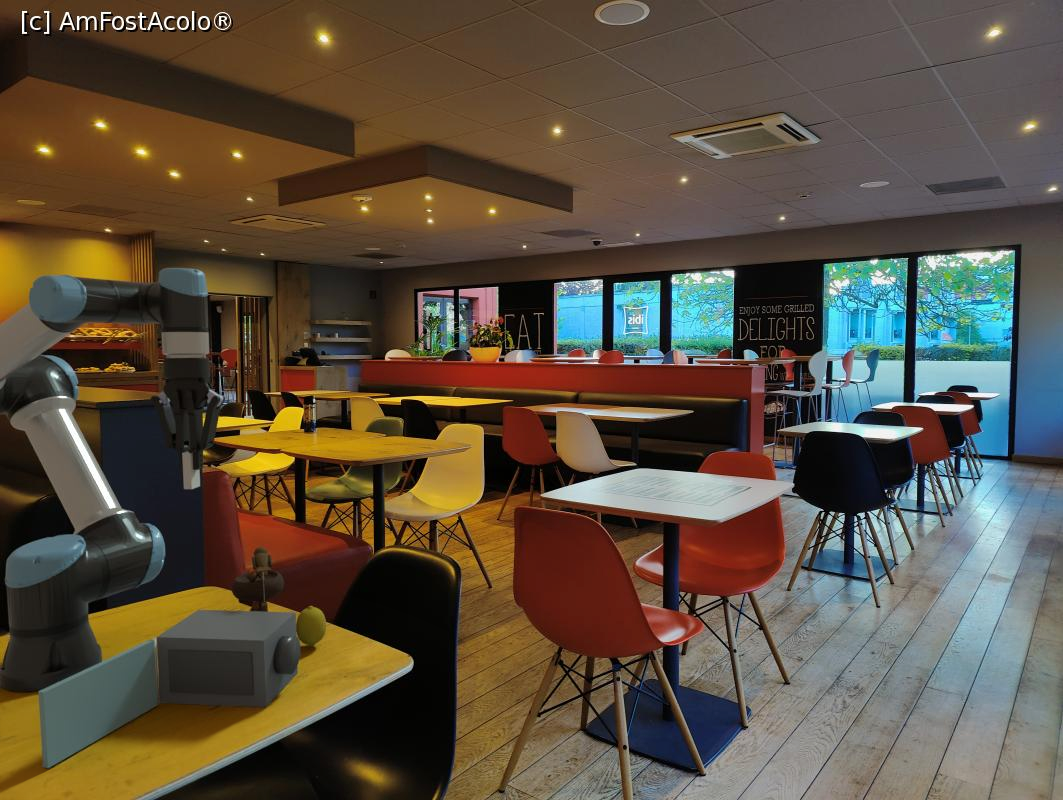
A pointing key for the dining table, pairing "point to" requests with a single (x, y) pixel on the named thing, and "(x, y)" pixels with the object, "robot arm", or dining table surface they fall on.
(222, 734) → the dining table surface
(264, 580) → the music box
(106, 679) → the side door
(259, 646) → the case
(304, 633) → the lemon
